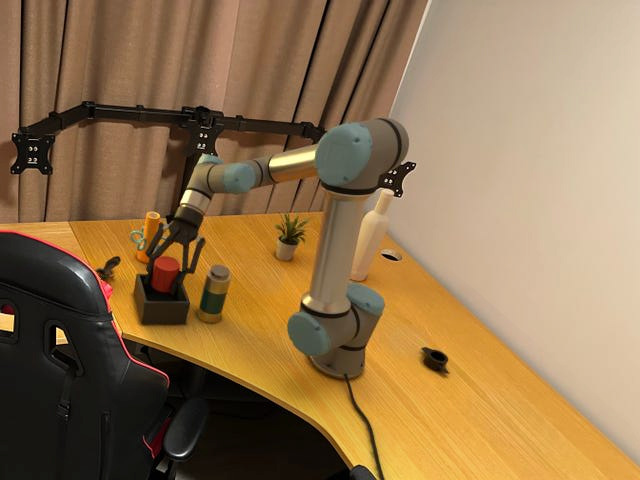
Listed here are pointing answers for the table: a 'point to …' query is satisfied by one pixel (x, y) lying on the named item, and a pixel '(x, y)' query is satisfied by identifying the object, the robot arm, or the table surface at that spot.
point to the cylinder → (147, 235)
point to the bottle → (371, 236)
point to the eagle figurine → (108, 268)
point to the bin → (160, 303)
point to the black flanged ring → (435, 359)
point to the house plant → (289, 237)
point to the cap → (164, 273)
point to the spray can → (214, 293)
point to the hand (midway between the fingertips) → (158, 288)
